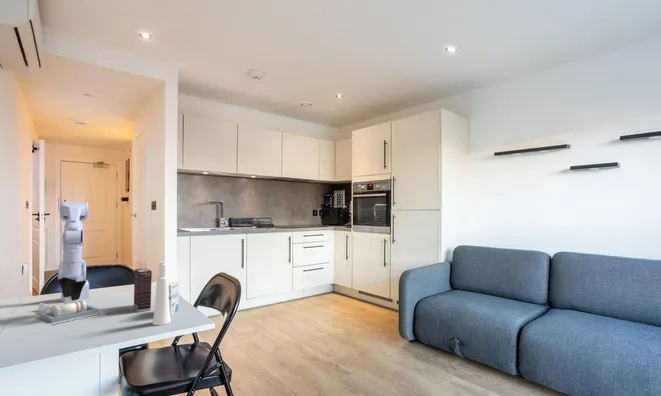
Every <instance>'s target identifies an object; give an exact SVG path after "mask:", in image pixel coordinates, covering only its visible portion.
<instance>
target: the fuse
mask: <svg viewBox="0 0 661 396" xmlns="http://www.w3.org/2000/svg"><path fill="white" fill-rule="evenodd" d="M87 305H88V304H87V301H86V299H84V300H79V301H76V302H74V303H71V302H69V304H60V305H59V304H56V305H52V306H50V308H51V316H52V317H54V318H56V317H60V316H65V315H70V314H75V313H80V312H84V311H87V310H86V309H87Z"/></svg>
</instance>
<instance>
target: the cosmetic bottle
mask: <svg viewBox="0 0 661 396" xmlns="http://www.w3.org/2000/svg"><path fill="white" fill-rule="evenodd" d="M168 281H169V277H168V264H167V260H161V261H159V264H158V276H157V278H156V285H155V286H156V287H155V300H154V301H155V302H154V312H153V318H152V322H151V323H152V326H153V325H154V326H165V325H167V324H170V323H171V322H172V319H171V316H170V311H169V286H168Z"/></svg>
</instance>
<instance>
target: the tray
mask: <svg viewBox="0 0 661 396" xmlns="http://www.w3.org/2000/svg"><path fill="white" fill-rule="evenodd" d="M96 316H100V308H97V307H96V306H92V305H91V304H90V305H89V304H87V309H86V311H84V312H79V313H74V314H69V315H64V316H60V317H56V318H54V317H52V316H51V312H46V313H41V315H40V318H41V319H43V320H45V321H46V322H48V323H51V324H52V326H56V325H59V324H64V323H68V322H69V323H70V322H74V321H77V320H82V318H83V319H86V318H91V317H96ZM58 322H59V323H58Z"/></svg>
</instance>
